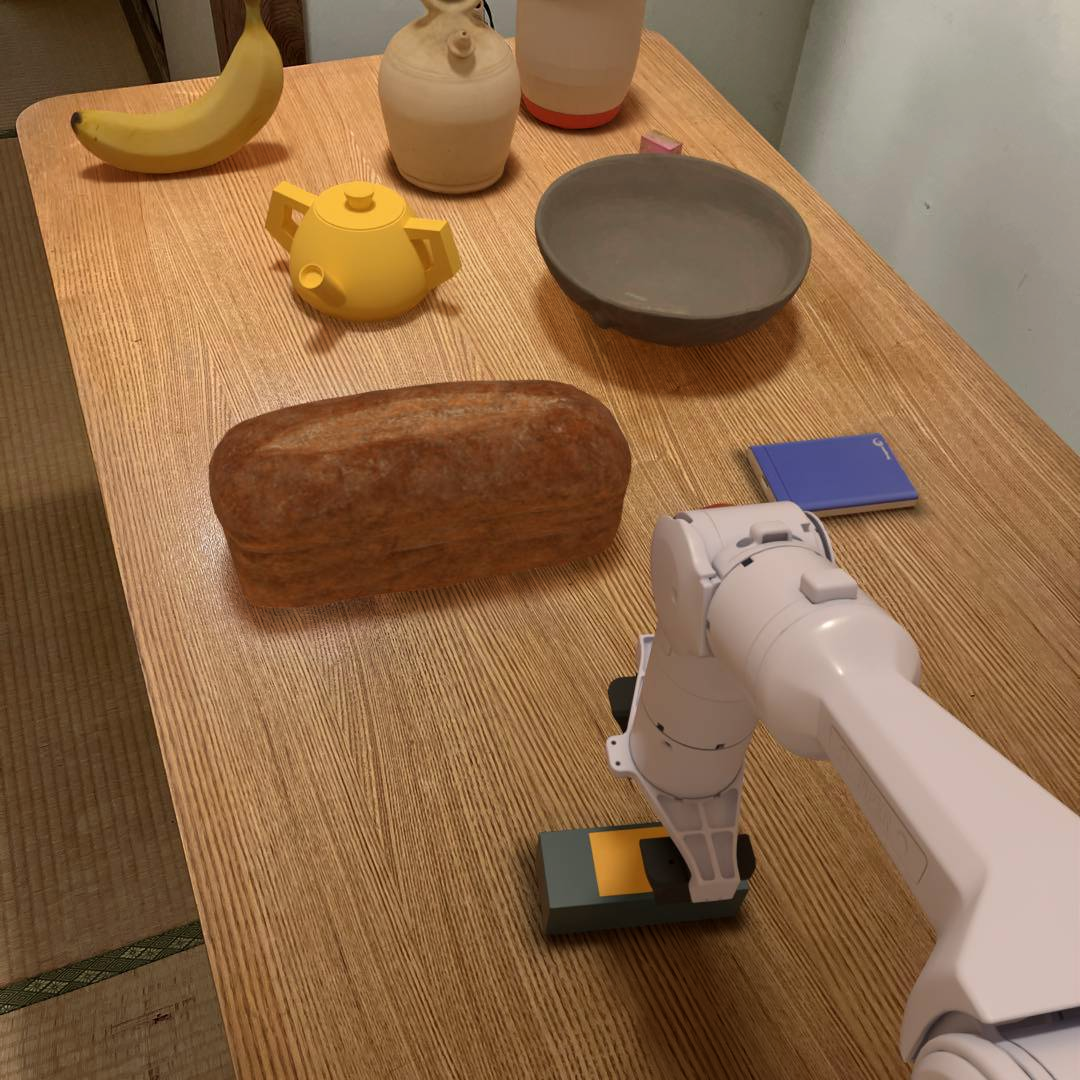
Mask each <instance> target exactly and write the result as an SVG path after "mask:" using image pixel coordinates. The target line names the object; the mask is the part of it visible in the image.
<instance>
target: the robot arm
mask: <svg viewBox="0 0 1080 1080" xmlns="http://www.w3.org/2000/svg"><path fill="white" fill-rule="evenodd" d="M699 509H700V510H699ZM699 509H690V510H680V511H678V512H677V513H675V515H674V516H673V517H672V516H671V515H669V514H663V515H661V516H659V517H658V518H657V520H656V521H655V524H654V526H653V530H652V535H651V539H650V550H649V551H650V553H649V554H650V555H649V565H650V566H649V567H650V581H651V590H652V596H653V602H654V607H655V611H656V614H657V622H656V627H655V631H654V633H648V634H647V633H646V634H645V633H644V634H638V638H637V642H636V647H635V651H634V659H635V663H636V667H637V669H638V671H637V672H636V673H635V675H630V676H619V677H617V678H615V679H613V680H612V681H611V682H610V683H609V685H608V688H607V696H608V702H609V705H610V710H611V711H610V712H611V715H612V717H613V719H614V720H615V722H616V723H617V724H618V727H619V728H620V730H621V733H622V734H616V735H615V734H614V735H611V736H609V737H608V738H607V739H606V741H605V746H604V754H605V758H606V764H607V769H608V771H609V773H610V774H611V775H612V776H613V777H615V778H628V779H629V780H633V781H634V782H635V784H636V785H637V787H638V788H639V791H641V793H642V795H643V796H644V798H645V800H646V801H647V802H648V804H649V806H650V807H651V809H652V810H653V812H654V813H655V815H656V817H657V818H658V820H659V822H661V823H662V825H663V826H664V828H665V829H666V831H667V832H668V834H669V835H670V836H668V837H658V838H647V839H640V841H639V846H640V851H641V855H642V860H643V865H644V870H645V874H646V877H647V879H648V882H649V884H650V886H651V888H652V891H653V896H654V901H655V903H656V904H657V905H667V904H677V903H687V902H691V901H692V902H694V903H695V902H705V901H706V902H707V901H717V900H724V899H732V898H733V896H734V894H735V891H736V889H737V887H738V885H739V883H740V881H743V880H747V881H749V880H750V879H751V878H752V877H753V875H754V872H755V870H756V868H757V859H756V855H755V852H754V849H753V845H752V842H751V841H752V840H751V838H750V835H749V834H747V833H740V834H739V827H740V826H739V825H740V816H741V815H740V814H741V805H742V797H743V787H744V786H743V785H744V777H745V767H746V754H747V751H748V749H749V746H750V744H751V741H752V739H753V736H754V733H755V732H756V728H757V726H758V723H759V722H760V721H761V722H762V724H763V725H764V726H765V728H766V729H767V730H768V733H769V734H770V735H771V736H772V737H773V739H774V740H775V741H776V742H777V743H778V744H779V745H780V746H781V747H782V748H783V749H785V750H786V751H787V752H789V753H791V754H793V755H795V756H798V757H800V758H803V759H808V760H810V761H811V760H812V761H820V762H831V764H832V766H833V767H834V769H835V770H836V772H837V774H838V775H839V777H840V779H841V780H842V782H843V783H844V786H845V787H846V788H847V790H848V791H849V793H850V794H851V797H852V798H853V800H854V802H855V803H856V805H857V806H858V807H859V809H860V811H861V812H862V814H863V816H864V817H865V819H866V821H867V822H868V824H869V826H870V827H871V829H872V830H873V832H874V834H875V835H876V837H877V839H878V840H879V842H880V843H881V845H882V847H883V848H884V850H885V851H886V854H888V856H889V858H890V860H891V861H892V863H893V865H894V866H895V868H896V869H897V871H898V872H899V874H900V876H901V877H902V879H903V880H904V883H905V884H906V885H907V887H908V889H909V890H910V892H911V893H912V895H913V897H914V898H915V900H916V902H917V903H918V905H919V906H920V908H921V910H922V911H923V913H924V914H925V916H926V918H927V919H928V921H929V923H930V924H931V926H932V928H933V929H934V932H935V939H936V940H935V943H934V947H933V950H932V951H931V952H930V955H929V956H928V958H927V960H926V962H925V964H924V966H923V967H922V970H921V971H920V973H919V975H918V977H917V979H916V981H915V983H914V985H913V986H912V988H911V990H910V992H909V995H908V998H907V1000H906V1004H905V1007H904V1009H903V1016H902V1020H901V1024H900V1031H899V1038H898V1048H899V1053H900V1056H901V1059H902V1061H903V1063H906V1064H908V1063H913V1062H914V1064H913V1067H912V1071H911V1075H910V1080H1080V815H1078V814H1077V813H1076V812H1074V811H1073V810H1072V809H1070V808H1069V807H1068V806H1066V805H1065V804H1064V803H1063V802H1061V801H1060V800H1059V799H1058V798H1056V796H1054V794H1051V792H1049V791H1048V790H1046V789H1045V788H1044V787H1043V786H1041V785H1040V784H1039V783H1038V782H1037V781H1036V780H1034V779H1033V778H1032V777H1030V776H1029V775H1028V774H1026V772H1025V771H1023V770H1022V769H1020V768H1019V767H1018V766H1017V765H1015V764H1014V763H1013V762H1012V761H1010V760H1009V759H1008V758H1006V757H1005V756H1004V755H1003V754H1001V752H999V751H998V750H997V749H996V748H994V747H993V746H992V745H990V744H989V743H988V742H986V741H985V740H984V739H983V738H981V737H980V736H979V735H978V734H977V733H975V732H974V731H973V730H971V729H970V728H969V727H968V726H967V725H965V724H964V723H963V722H962V721H960V719H958V718H957V717H955V716H954V715H953V714H951V713H950V712H949V711H948V710H947V709H945V708H944V707H943V706H942V705H940V704H939V703H938V702H936V701H935V700H934V699H932V697H930V696H929V695H928V694H927V693H925V692H924V691H923V690H921V688H920V685H921V681H922V661H921V655H920V651H919V649H918V646H917V644H916V642H915V640H914V638H912V636H911V634H910V633H909V631H908V630H907V629H905V627H904V626H902V625H901V624H900V623H899V622H898V621H896V619H895V618H894V617H893V616H892V615H891V614H890V613H889V612H887V611H886V610H885V609H883V607H882V606H880V605H879V604H878V603H877V602H876V601H875V600H874V599H873V598H872V597H871V596H869V595H868V594H867V593H866V592H865V591H864V590H863V589H861V588H860V587H859V583H858V581H857V580H855V578H854V577H852V576H851V575H850V573H848V572H847V571H846V570H845V569H843V568H841V567H838V566H837V565H836V564H837V563H836V558H835V553H834V547H833V545H832V541H831V539H830V536H829V533H828V531H827V530H826V527H825V525H824V524H823V522H822V521H821V520H820V517H817V516H816V515H815V514H813V513H811V512H809V511H802V509H801V508H800V507H799V506H798V505H796V504H795V503H794V502H791V501H780V502H770V503H769V502H760V503H751V504H741V505H738V506H730V507H720V508H710V509H701V508H699Z"/></svg>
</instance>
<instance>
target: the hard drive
mask: <svg viewBox="0 0 1080 1080" xmlns="http://www.w3.org/2000/svg"><path fill="white" fill-rule="evenodd" d="M746 457H747V461H748V462H749V465H750V467H751V469H752V471H753V473H754V475H755V477H756V479H757V481H758V483H759V485H760V487H761V489H762V491H763V493H764V495H765V498H766V499H767V501H768V503H770V502H780V501H791V502H794V503H795V504H796V505H798V506H799V507H800V508H801V509H802V511H809V512H811V513H813V514H815V515H816V516H817V517H818V518H825V517H826V518H827V517H834V516H842V515H850V514H859V513H866V512H867V513H869V512H877V511H883V510H892V509H902V508H908V507H909V508H910V507H915V506H916V504H917V503H918V502H919V501H918V500H919V493H918V491H917V489H916V488H915V486H914V484H913V482H912V481H911V480H910V477H909V476H908V475H907V473H906V471H905V469H904V468H903V466H902V465H901V463H900V461H899V460H898V459H897V457H896V455H895V454H894V452H893V450H892V449H891V447H890V445H889V444H888V442H887V440H886V439H885V437H884V435H883V434H882V433H880V432H873V433H872V432H871V433H863V434H862V433H861V434H856V435H855V434H854V435H844V436H842V435H841V436H835V437H826V438H825V437H824V438H815V439H814V438H813V439H804V440H795V441H786V442H776V443H767V444H758V445H757V444H755V445H749V447H748V450H747V453H746Z"/></svg>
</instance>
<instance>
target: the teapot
mask: <svg viewBox="0 0 1080 1080" xmlns="http://www.w3.org/2000/svg"><path fill="white" fill-rule="evenodd" d="M293 210H294V211H296V212H297V213H300V214H301V215H303V217H302V219H301V221H300V222H299V224H298V223H297V222H296V221H295V220H294V219H293V218H292V217H293ZM264 229H265V230H266V231H267V232H268V233H269V234H270V235H271V237H272V238H274V239H275V241H276V242H277V243H278V244H279V245H280V246H281V247H282V248H283V249H284V250H285V252H287V254H288V255H289V262H288V263H289V265H288V266H289V267H288V269H289V278H290V281H291V285H292V286H293V288H294V290H295V291H296V293H297V294H298V295H299V296H300V297H301V298H302V299H303V301H305V302H306V303H307V304H309V305H310V306H311V307H313V308H314V309H316V310H317V311H319V312H320V313H322V314H323V315H326V316H328V317H329V318H332V319H336V320H339V321H344V322H347V323H356V324H372V323H374V324H375V323H381V322H385V321H390V320H393V319H396V318H398V317H401V316H403V315H404V314H405V315H406V313H408V312H410V311H411V310H412V309H414V308H415V307H417V305H418V304H419V303H420V302H422V301H423V300H424V299H425V298H426V297H427V296H428V295H429V293H430V292H431V291H432V290H433V289H435V288H436V287H438V286H440V285H442V284H444V283H445V282H447V281H449V280H451V279H452V278H455V276H456V275H457V273H458V272H459V271H460V270H461V269H462V267H463V264H462V260H461V257H460V254H459V251H458V248H457V245H456V242H455V237H454V235H453V232H452V229H451V226H450V222H449V220H445V219H443V220H442V219H433V218H432V219H431V218H421V217H419V216H418V215H417V214H416V212H415V210H413V208H412V207H411V205H410V204H409V203H408V202H407V200H405V198H404V197H402V195H401V194H399V193H398V192H397V191H395V190H394V189H392V188H390V187H388V186H385V185H383V184H379V183H375V182H369V181H364V180H353V181H349V182H344V183H339V184H336V185H333V186H331V187H329V188H327V189H325V190H324V191H322V192H321V193H320V194H319V195H316V194H314V193H311V192H310V191H308V190H306V189H303V188H301V187H299V186H297V185H294V184H292V183H290V182H288V181H285V180H282V181H281V182H280V183H279V184H277V185H276V186H275V187H274V188H273V189H272V192H271V196H270V201H269V205H268V210H267V214H266V219H265V223H264Z"/></svg>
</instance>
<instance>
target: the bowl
mask: <svg viewBox="0 0 1080 1080" xmlns="http://www.w3.org/2000/svg"><path fill="white" fill-rule="evenodd" d="M534 235H535V236H534V237H535V240H536V244H537V247H538V250H539V252H540V255H541V258H542V260H543V262H544V264H545V266H546V267H547V270H548V272H549V273H550V275H551V276H552V279H554V281H555V282H556V285H557V286H558V288H559V289H560V290H561V291H562V293H564V295H565V296H567V298H569V300H570V301H572V302H573V303H574V304H575V305H576V306H578V307H579V308H580V309H581V310H583V311H584V312H586V314H588V315H589V316H590V317H591V319H592V322H593V324H594V325H595V326H596V327H597V328H598V329H600V330H604V331H607V330H609V329H612V330H614V331H616V332H618V333H619V334H621V335H624V336H627V337H629V338H632V339H634V340H638V341H640V342H644V343H648V344H652V345H653V344H654V345H658V346H663V347H670V348H698V347H699V348H700V347H708V346H714V345H719V344H723V343H728V342H731V341H734V340H736V339H738V338H741V337H743V336H744V337H745V336H746V335H748V334H750V333H752V332H753V331H755V330H758V329H759V328H762V327H763V326H764V325H766V324H767V323H768V322H770V321H771V320H773V318H775V317H776V316H777V315H778V314H779V313H780V312H781V311H782V310H783V309H784V308H785V307H786V306H787V305H788V304H789V303H790V302H791V300H792V299H793V298H794V296H796V294H797V292H798V291H799V289H800V287H801V285H802V284H803V283H804V280H805V278H806V276H807V274H808V272H809V268H810V265H811V261H812V253H813V249H812V238H811V234H810V231H809V228H808V226H807V224H806V222H805V220H804V219H803V217H802V215H801V214H800V213H799V211H798V210H797V209H796V208H795V206H794V205H792V204H791V203H790V202H789V201H788V200H787V199H786V198H785V197H784V196H782V195H781V194H780V193H779V192H778V191H776V189H774V188H772V187H771V186H769V185H768V184H766V183H765V182H763V181H761V180H759V179H757V178H756V177H754V176H752V175H750V174H748V173H746V172H744V171H742V170H739V169H737V168H735V167H732V166H728V165H725V164H723V163H720V162H716V161H713V160H710V159H705V158H701V157H696V156H693V155H686V154H681V155H680V154H670V153H639V152H638V153H624V154H622V153H621V154H614V155H609V156H603V157H601V158H597V159H594V160H591V161H588V162H585V163H583V164H580V165H578V166H576V167H574V168H572V169H570V170H567V171H566V172H564V173H563V174H562V175H560V176H559V177H557V178H556V179H555V180H553V181H552V182H551V183H550V184H549V185H548V187H547V188H546V189H545V190H544V192H543V193H542V195H541V196H540V199H539V201H538V204H537V206H536V210H535V214H534Z"/></svg>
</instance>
